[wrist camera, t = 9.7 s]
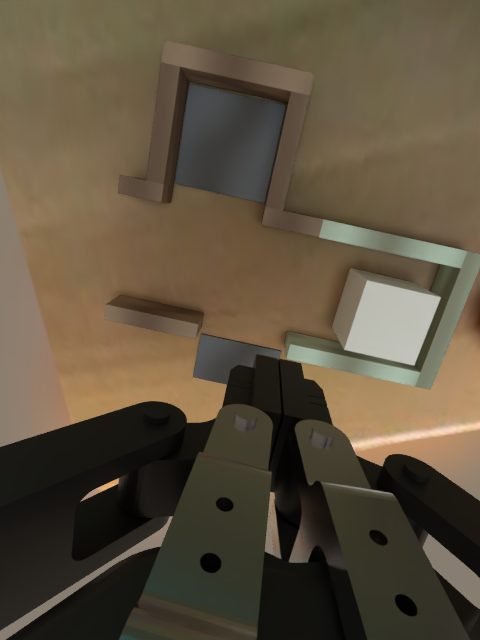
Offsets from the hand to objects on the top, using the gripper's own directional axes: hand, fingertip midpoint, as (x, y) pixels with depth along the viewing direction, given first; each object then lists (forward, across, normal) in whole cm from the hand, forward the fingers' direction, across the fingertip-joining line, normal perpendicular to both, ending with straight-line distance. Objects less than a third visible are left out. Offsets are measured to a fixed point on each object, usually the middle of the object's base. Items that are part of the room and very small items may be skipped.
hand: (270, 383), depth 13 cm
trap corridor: (+18, -1, -2) cm, 19 cm away
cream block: (+19, -8, 0) cm, 20 cm away
